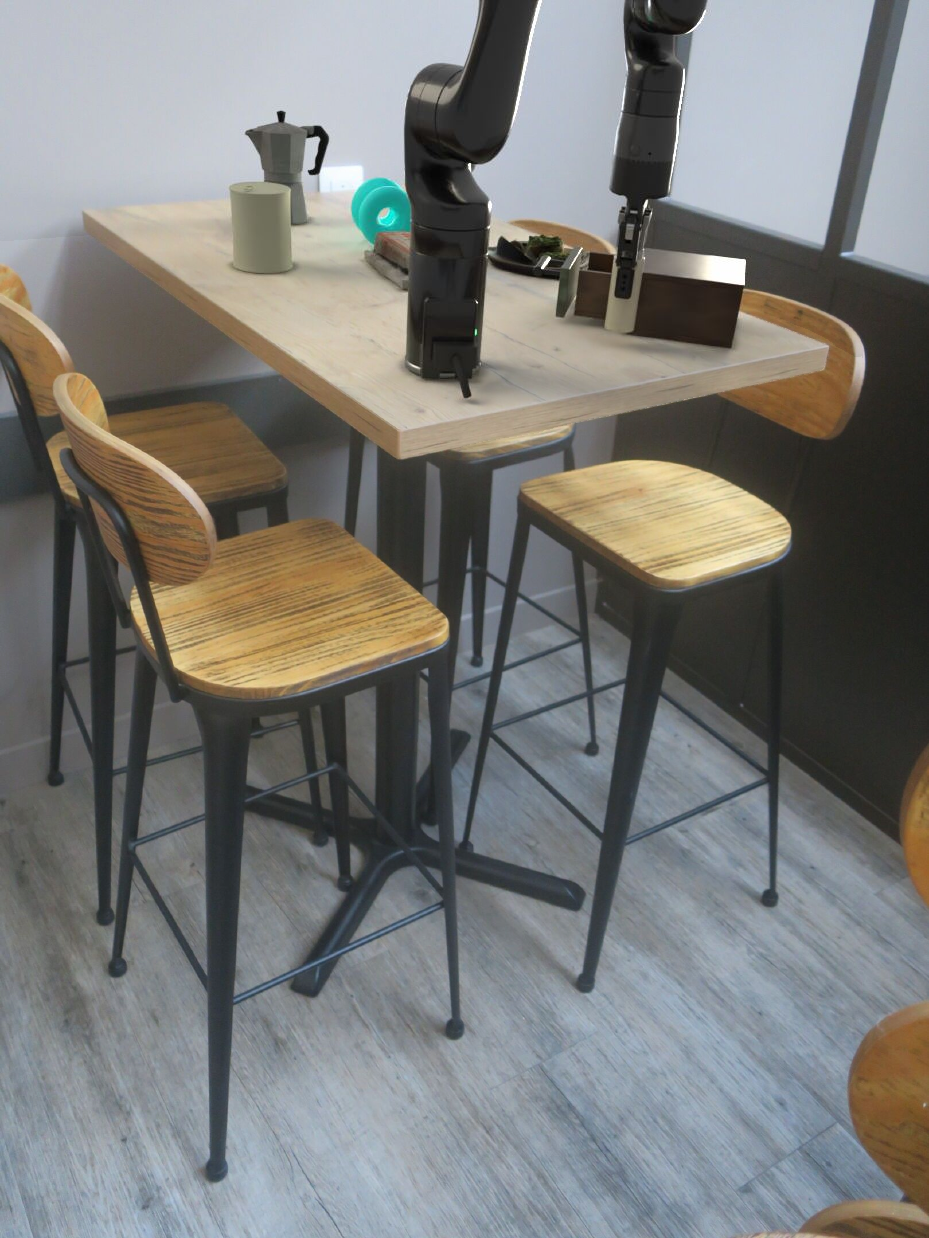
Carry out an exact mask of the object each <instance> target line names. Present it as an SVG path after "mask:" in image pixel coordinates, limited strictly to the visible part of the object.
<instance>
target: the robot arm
mask: <svg viewBox="0 0 929 1238" xmlns="http://www.w3.org/2000/svg"><path fill="white" fill-rule="evenodd" d="M708 1H709V0H624V2H623V11H622V12H623V14H622V21H623V23H622V24H623V25H622V26H623V27H622V28H623V44H624V45H623V47H624V59H625V71H626V72H625V80H624V84H623V90H622V91H623V92H622V98H621V106H620V113H619V118H618V122H617V126H616V131H615V138H614V146H613V154H612V159H611V160H612V161H611V168H610V176H609V183H608V184H609V185H608V188H609V191H610V192H611V193H612V194H614V195H617V196H620V197H621V196H623V197H625V198H626V199H625V200H626V203H625V205H621V207H620V209H619V211H618V217H617V224H618V230H617V235H616V236H617V237H616V241H615V242H616V243H615V246H616V248H618V252H617V251H616V254H617V259H616V261H615V263H616V266H617V268H618V270H617V277H616V284H615V291H614V296H615V297H616V298H620V299H630V297H631V295H632V288H633V281H634V274H635V270H636V268H637V266H638V264H637V259H638V253H639V252H640V251H642V250H644V248H645V247H644V246H645V244H646V242H647V237H648V230H649V227H650V224H651V220H652V215H653V208H652V209H651V208H650V204H648V202H649V200H650V199H651V200H659V199H660V200H661V199H664V198H666V197H667V196H669V194H670V193H669V192H670V189H671V183H672V182H671V181H672V175H673V169H674V164H675V163H674V162H675V157H676V150H677V144H678V137H679V119H680V117H679V116H680V110H681V104H682V99H683V98H682V97H683V91H684V85H685V68H684V65H683V63H681V61H679V59H678V58H677V56H676V54H675V37H677V36H683V35H686V34H689V33H690V32H692V31H693V30H695V29H696V28H697V26H698V25H699V24H701V21H702V20H703V18H704V15H705V13H706V11H707V7H708ZM541 4H542V0H478V8H477V9H478V10H477V17H476V24H475V28H474V32H473V34H472V39H471V43H470V46H469V50H468V54H467V57H466V59H465V62H464V65H460V64H453V63H447V62H434V63H431V64H429V65H427V66H424V67H423V68H422V69H421V70H419V72H418V73H417V74H416V75H415V77H414V79H413V80H412V82H411V83H410V87H409V90H408V92H407V95H406V99H405V107H404V113H403V115H404V117H403V158H404V159H403V162H404V167H403V168H404V171H403V173H404V176H403V177H404V186H405V187H404V189H405V192H406V193H407V196H408V199H409V202H410V206H411V229H410V253H409V280H408V289H407V308H406V338H405V340H406V341H405V355H404V366H405V368H406V369H407V370H408V371H410V372H411V373H414V374H417V375H419V376H420V378H421V379H424V380H427V379H430V380H431V379H433V380H458V382H459V386H460V391H461V393H462V397H463V399H469V398H471V397H472V392H471V388H470V385H469V380H472V379H473V376H474V375H476V374H478V373H479V372H480V371H481V368H482V367H481V366H482V360H481V356H482V355H481V353H482V341H483V327H484V315H485V314H484V312H485V302H486V301H485V300H486V288H487V274H488V261H489V260H488V250H489V247H490V235H491V233H490V232H491V221H492V201H491V199H490V198H489V196H488V195H487V194H486V193H485V192H484V191H483V189H482V188H481V187H480V185H478V183H477V181H476V179H475V177H474V175H473V172H471V168H470V164H473V165H476V166H481V165H485V164H488V163H490V162H491V161H492V160H493V159H495V158H496V157H497V156H498V155H499V153H500V152H501V151H502V150H503V148H504V147H505V145H506V143H507V141H508V139H509V137H510V134H511V131H512V129H513V126H514V124H515V123H514V122H515V118H516V115H517V111H518V106H519V101H520V96H521V92H522V86H523V81H524V76H525V71H526V67H527V63H528V57H529V53H530V46H531V42H532V38H533V34H534V29H535V25H536V22H537V18H538V14H539V11H540V7H541ZM623 251H628V252H632V253H633V258H627V257H622V256H623Z"/></svg>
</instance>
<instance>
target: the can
mask: <svg viewBox="0 0 929 1238" xmlns="http://www.w3.org/2000/svg"><path fill="white" fill-rule="evenodd" d="M228 189H229V197H230V213H231V229H232V230H231V232H232V249H233V252H232V253H233V260H232V261H233V262H232V266H233V267H234V268H235V269H236V270H238V271H242V272H245V273H251V274H252V273H253V274H279V273H284V272H287V271H290V270H291V269H293V267H294V263H293V256H292V255H293V254H292V225H291V212H290V192H291V189H290V188H289V187H288V186H285V185H282V184H277V183H270V182H264V181H242V182H237V183H233V184H231V185H229V187H228Z"/></svg>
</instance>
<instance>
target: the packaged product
mask: <svg viewBox="0 0 929 1238" xmlns="http://www.w3.org/2000/svg"><path fill="white" fill-rule="evenodd" d="M409 253H410V233H409V232H406V231H396V232H394V231H392V232H379V233H376V237H375V243H374V245H373V250H369V249H366V250H364V251H363V255H364V257H363V258H364V260H365V261H366V262H367V263H369V264H370V265H371V266H372V267H373V268H375V269H376V271H377V272H378V273H379V274H380V275H381V276H383V277H386V278H387V279H389V280H390V281H391V282H392V283H394V284H395V285H396V286H398V287H399V288H400V289H401V290H408V280H409Z"/></svg>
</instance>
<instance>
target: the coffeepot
mask: <svg viewBox="0 0 929 1238" xmlns="http://www.w3.org/2000/svg"><path fill="white" fill-rule="evenodd" d="M286 114H287V113H286V111H284V110H278V111H276V116H277V121H275V122H271V123H268V124H263V125H258V126H256V127H255V128H248V129H247V130H246V131H245V132H244V135H245V136H246V137H248V138H249V140H250V141H251V143H252V145H253V147H254V148H255V150H256V152H257V153H258V155H259V160H260V165H261V170H262V171H263V182H270V183H277V184H282V185H285V186H288V187H289V188H290V189H291V192H290V212H291V226H293V225H300V224H304V223H308V221H309V213H308V207H307V201H306V195H305V189H304V184H303V183H304V182H303V179H302V178H303V176H302V173H303V169H304V161H305V154H306V153H305V151H306V142H307V140H308V139H313V138H317V137H318V138H319V141H318V145H317V152H316V155H315V157H314V167H313V168H311V169H307V173H308V175H309V176H317V175H319V174H320V173H321V171H322V166H323V163H324V159H325V156H326V153H327V149H328V146H329V144H330V136H329V134H328V132H327V131H326V130H325V129H324V128H323V126H322V125H317V124H316V125H315V124H314V125H301V126H298V125H295V124H291V123H288V122H286Z"/></svg>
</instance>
